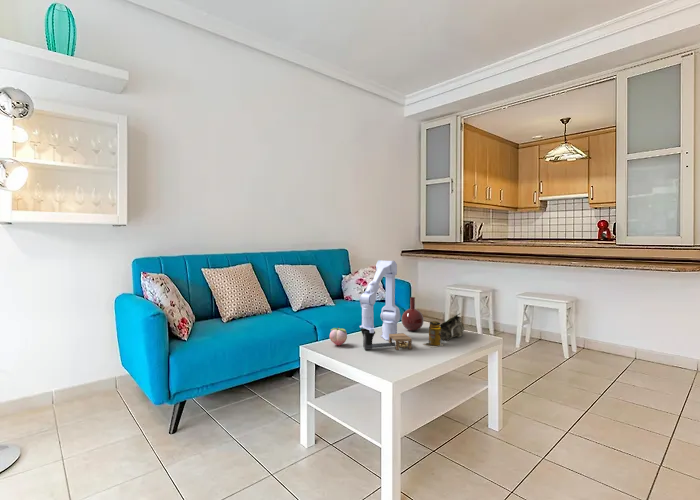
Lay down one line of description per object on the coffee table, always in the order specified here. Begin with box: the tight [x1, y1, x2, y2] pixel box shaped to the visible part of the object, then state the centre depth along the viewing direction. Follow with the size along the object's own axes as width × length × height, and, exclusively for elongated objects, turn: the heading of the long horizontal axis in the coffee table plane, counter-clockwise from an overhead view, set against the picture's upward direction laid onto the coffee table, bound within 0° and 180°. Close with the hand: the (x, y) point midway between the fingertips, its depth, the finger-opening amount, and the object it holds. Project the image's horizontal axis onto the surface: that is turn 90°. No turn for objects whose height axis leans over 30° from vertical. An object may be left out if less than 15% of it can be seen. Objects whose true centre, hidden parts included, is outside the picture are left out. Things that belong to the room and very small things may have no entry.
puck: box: [399, 341, 408, 349], centre depth 198 cm, size 5×5×2 cm
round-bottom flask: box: [401, 296, 425, 332], centre depth 231 cm, size 13×13×20 cm
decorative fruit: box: [329, 326, 348, 346], centre depth 200 cm, size 9×8×10 cm
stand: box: [388, 332, 413, 351], centre depth 198 cm, size 11×8×5 cm
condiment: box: [423, 320, 444, 349], centre depth 201 cm, size 7×8×12 cm
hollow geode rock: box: [440, 313, 466, 342], centre depth 215 cm, size 28×13×15 cm
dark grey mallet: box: [362, 333, 396, 350], centre depth 195 cm, size 4×16×7 cm, turn 104°
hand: (367, 343), depth 193 cm, fingers closed on dark grey mallet, 4 cm apart
